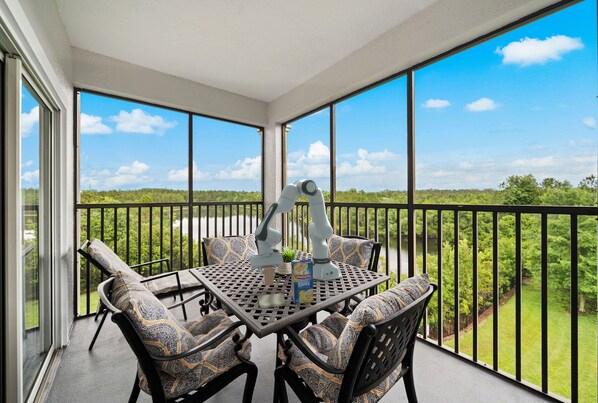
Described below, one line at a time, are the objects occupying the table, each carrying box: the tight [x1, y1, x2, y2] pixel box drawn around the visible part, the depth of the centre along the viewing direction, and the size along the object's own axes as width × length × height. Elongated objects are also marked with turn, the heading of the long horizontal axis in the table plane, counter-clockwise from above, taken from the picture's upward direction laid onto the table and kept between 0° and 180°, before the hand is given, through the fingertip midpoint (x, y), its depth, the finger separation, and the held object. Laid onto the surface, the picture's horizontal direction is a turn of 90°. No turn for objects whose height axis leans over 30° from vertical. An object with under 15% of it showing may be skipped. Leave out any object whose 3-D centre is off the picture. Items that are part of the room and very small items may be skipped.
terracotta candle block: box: [262, 266, 275, 286], centre depth 157 cm, size 5×5×10 cm
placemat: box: [257, 292, 287, 310], centre depth 143 cm, size 14×14×1 cm
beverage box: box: [290, 259, 314, 305], centre depth 144 cm, size 7×11×22 cm, turn 104°
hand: (268, 273), depth 157 cm, fingers closed on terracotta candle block, 5 cm apart
